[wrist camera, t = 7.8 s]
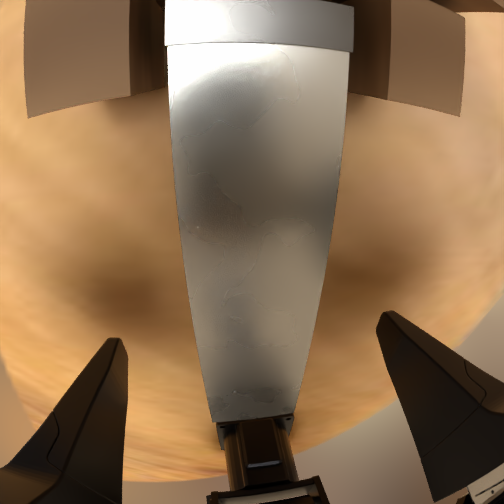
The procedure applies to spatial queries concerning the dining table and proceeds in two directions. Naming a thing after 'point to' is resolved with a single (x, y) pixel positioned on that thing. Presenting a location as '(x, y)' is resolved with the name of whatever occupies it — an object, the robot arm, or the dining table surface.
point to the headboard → (152, 51)
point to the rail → (256, 184)
